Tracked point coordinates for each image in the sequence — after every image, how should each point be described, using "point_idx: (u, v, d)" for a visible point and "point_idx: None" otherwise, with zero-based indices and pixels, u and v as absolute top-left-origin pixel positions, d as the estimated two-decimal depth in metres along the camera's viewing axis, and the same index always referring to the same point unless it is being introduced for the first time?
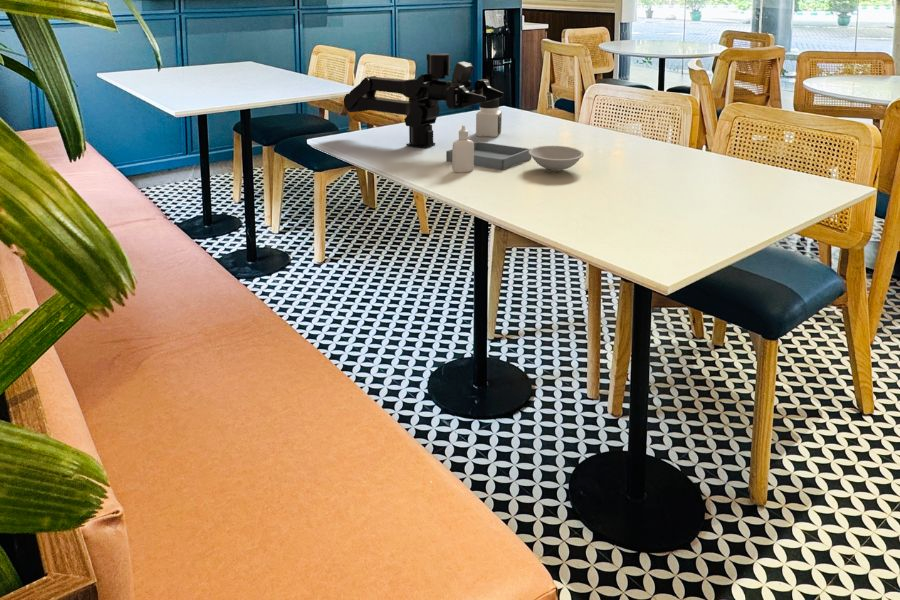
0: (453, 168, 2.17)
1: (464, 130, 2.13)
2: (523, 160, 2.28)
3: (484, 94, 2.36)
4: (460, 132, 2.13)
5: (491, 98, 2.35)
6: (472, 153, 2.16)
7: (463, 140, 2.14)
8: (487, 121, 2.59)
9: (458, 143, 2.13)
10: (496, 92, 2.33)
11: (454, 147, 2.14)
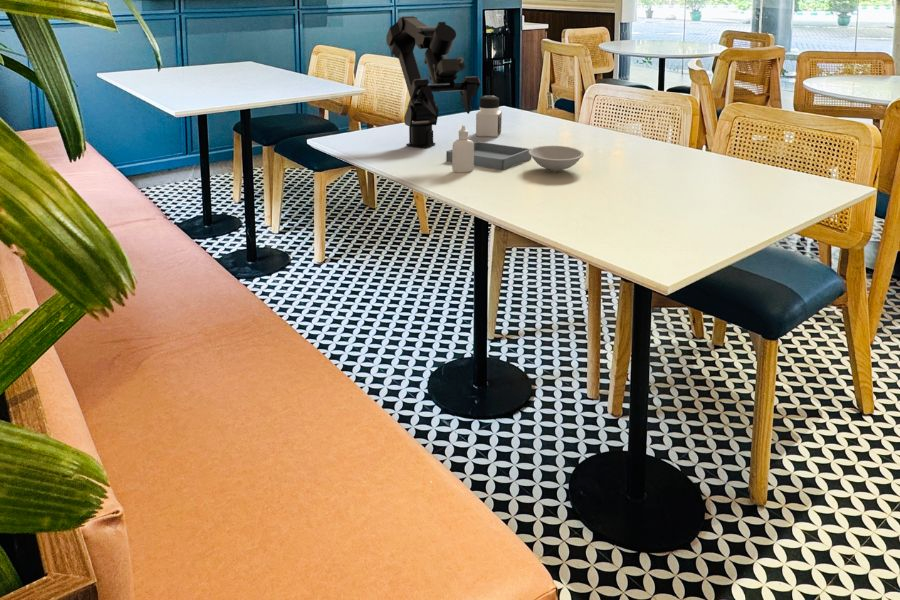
0: (453, 168, 2.17)
1: (464, 130, 2.13)
2: (523, 160, 2.28)
3: (464, 94, 2.24)
4: (460, 132, 2.13)
5: (464, 104, 2.24)
6: (472, 153, 2.16)
7: (463, 140, 2.14)
8: (487, 121, 2.59)
9: (458, 143, 2.13)
10: (467, 105, 2.22)
11: (454, 147, 2.14)
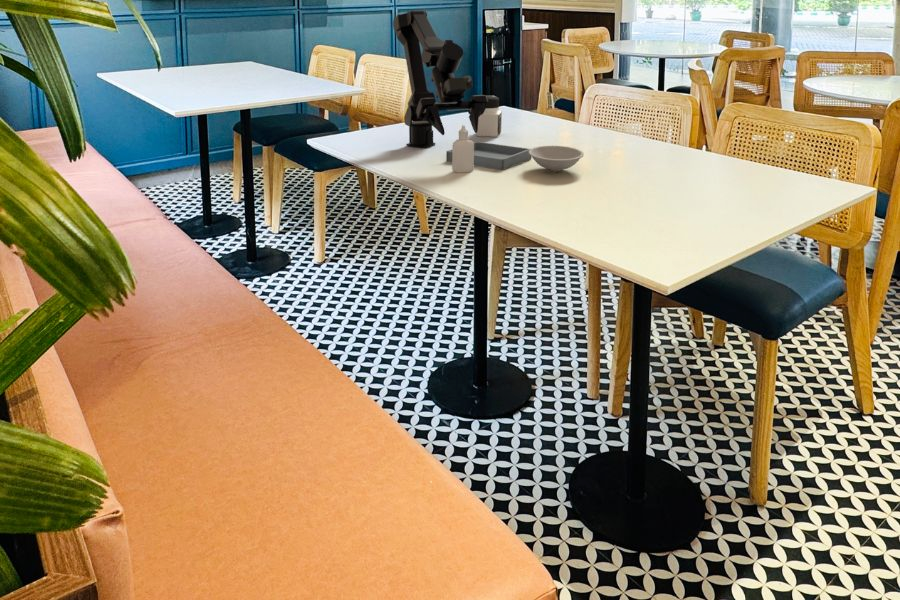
0: (453, 168, 2.17)
1: (464, 130, 2.13)
2: (523, 160, 2.28)
3: (471, 113, 2.21)
4: (460, 132, 2.13)
5: (471, 123, 2.21)
6: (472, 153, 2.16)
7: (463, 140, 2.14)
8: (487, 121, 2.59)
9: (458, 143, 2.13)
10: (474, 124, 2.18)
11: (454, 147, 2.14)
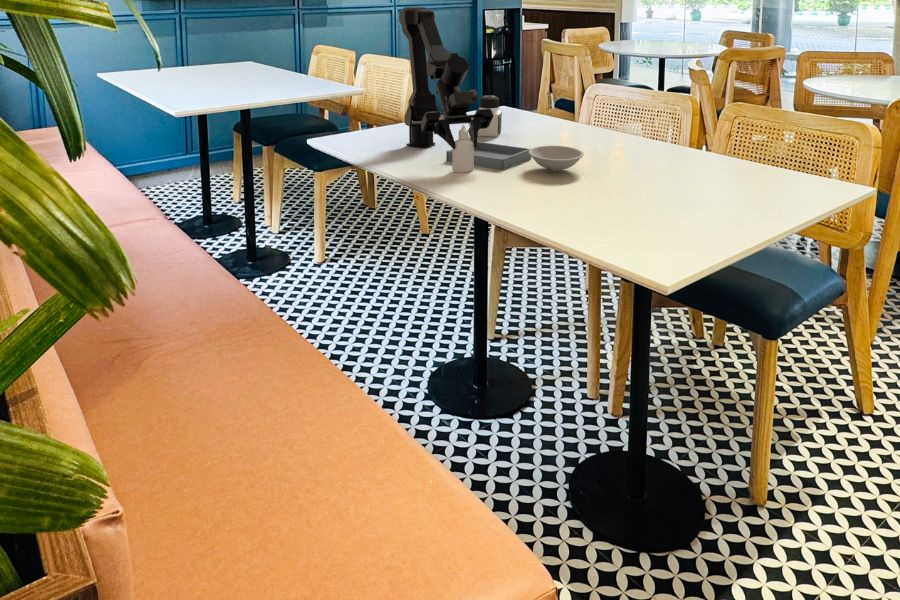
0: (453, 168, 2.17)
1: (464, 130, 2.13)
2: (523, 160, 2.28)
3: (470, 127, 2.18)
4: (460, 132, 2.13)
5: (471, 137, 2.18)
6: (472, 153, 2.16)
7: (463, 140, 2.14)
8: None
9: (458, 143, 2.13)
10: (473, 138, 2.16)
11: None
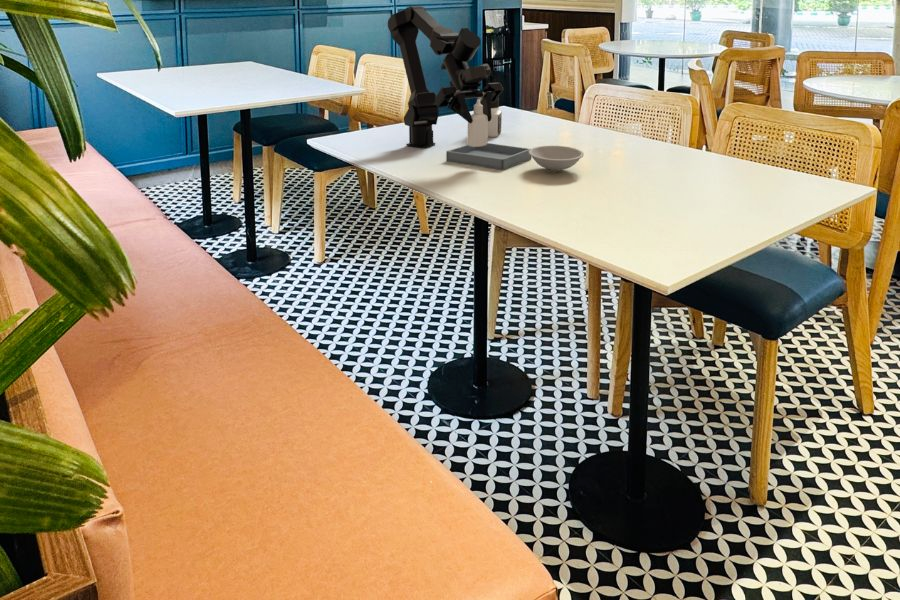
0: (469, 142, 2.19)
1: (479, 104, 2.16)
2: (523, 160, 2.28)
3: (482, 101, 2.21)
4: (476, 106, 2.16)
5: (483, 111, 2.21)
6: (486, 127, 2.20)
7: (479, 114, 2.17)
8: None
9: (474, 117, 2.16)
10: (487, 112, 2.19)
11: None
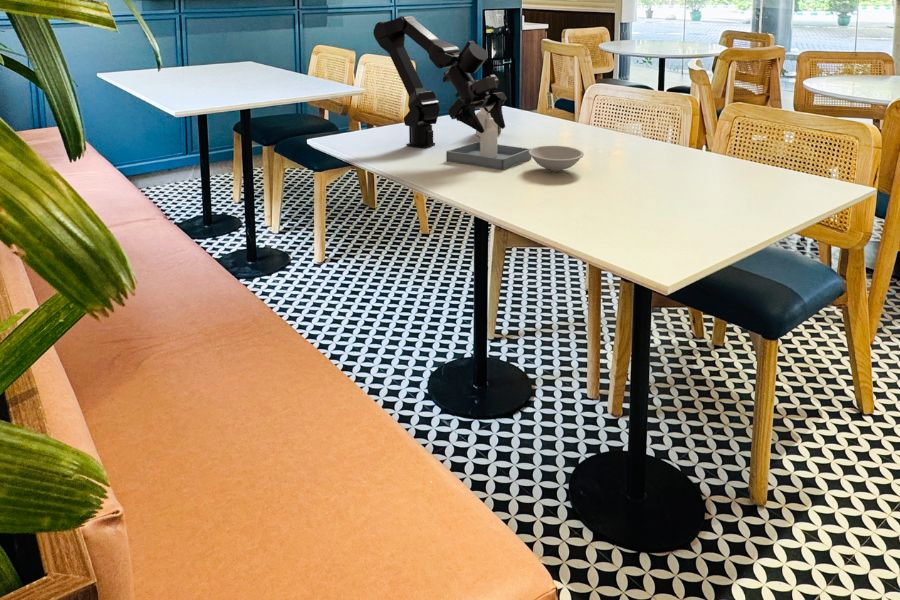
0: (482, 155, 2.28)
1: (491, 118, 2.25)
2: (523, 160, 2.28)
3: (492, 110, 2.31)
4: (487, 120, 2.25)
5: (494, 119, 2.31)
6: (496, 139, 2.29)
7: (490, 127, 2.26)
8: None
9: (487, 130, 2.25)
10: (500, 120, 2.29)
11: (484, 134, 2.25)
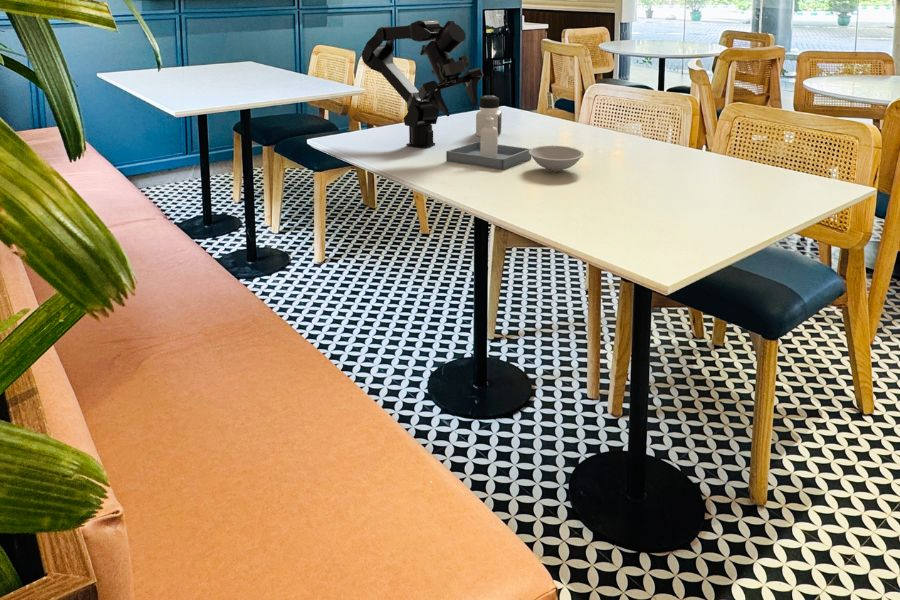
0: (482, 155, 2.28)
1: (491, 118, 2.25)
2: (523, 160, 2.28)
3: (468, 87, 2.34)
4: (488, 120, 2.25)
5: (470, 96, 2.35)
6: (497, 139, 2.29)
7: (491, 127, 2.26)
8: None
9: (488, 130, 2.25)
10: (474, 99, 2.33)
11: (484, 135, 2.25)
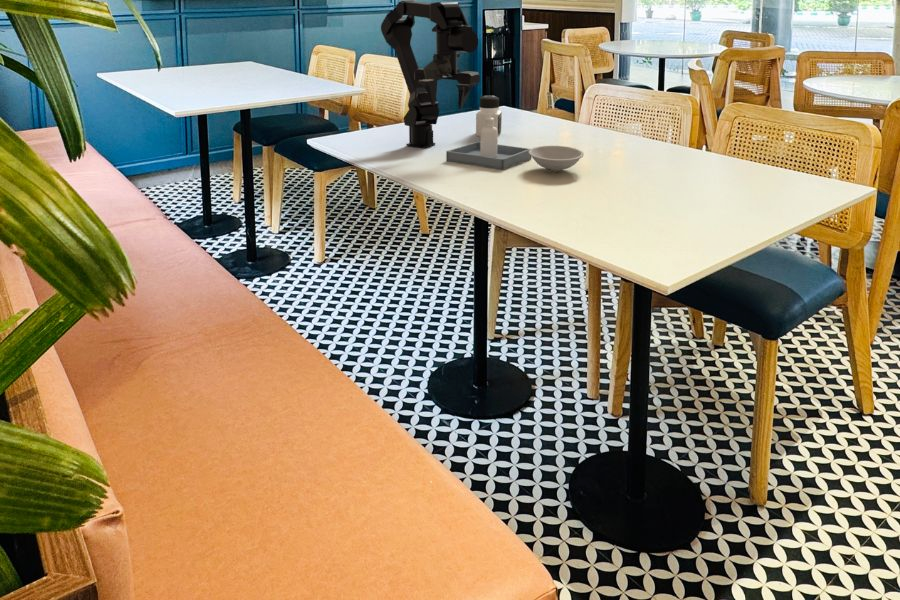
0: (482, 155, 2.28)
1: (491, 118, 2.25)
2: (523, 160, 2.28)
3: None
4: (488, 120, 2.25)
5: None
6: (497, 139, 2.29)
7: (491, 127, 2.26)
8: None
9: (488, 130, 2.25)
10: None
11: (484, 135, 2.25)
